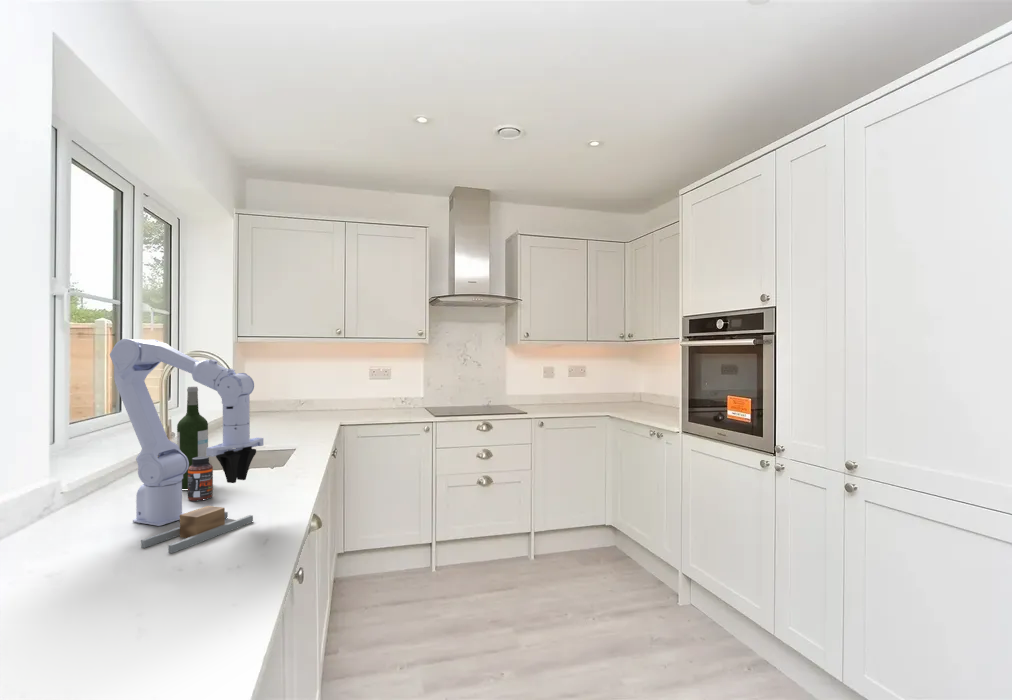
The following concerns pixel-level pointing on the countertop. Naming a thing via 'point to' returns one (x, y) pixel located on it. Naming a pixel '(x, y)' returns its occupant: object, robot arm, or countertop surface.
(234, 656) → the countertop surface
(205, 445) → the wine bottle
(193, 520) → the brown rectangular block
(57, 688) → the countertop surface
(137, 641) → the countertop surface
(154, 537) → the channel
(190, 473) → the supplement bottle
